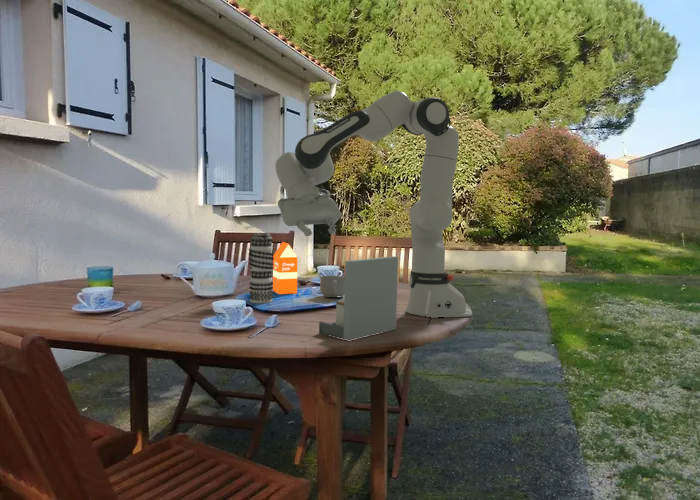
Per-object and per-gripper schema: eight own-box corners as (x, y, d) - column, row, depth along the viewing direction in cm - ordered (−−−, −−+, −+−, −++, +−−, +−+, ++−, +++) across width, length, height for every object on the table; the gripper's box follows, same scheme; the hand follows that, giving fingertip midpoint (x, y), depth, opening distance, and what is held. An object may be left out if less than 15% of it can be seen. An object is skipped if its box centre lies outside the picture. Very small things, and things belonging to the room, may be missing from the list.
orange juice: (278, 294, 222) (279, 243, 220) (272, 290, 230) (273, 241, 228) (297, 293, 225) (298, 243, 223) (290, 289, 233) (291, 241, 231)
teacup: (322, 293, 225) (323, 274, 224) (349, 295, 223) (350, 275, 222) (315, 300, 211) (316, 279, 210) (344, 301, 210) (344, 280, 209)
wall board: (366, 323, 176) (368, 253, 174) (395, 330, 167) (398, 257, 165) (319, 333, 162) (320, 257, 159) (348, 341, 153) (350, 261, 151)
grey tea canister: (349, 329, 165) (349, 299, 164) (362, 332, 161) (363, 302, 160) (335, 332, 161) (336, 301, 160) (349, 336, 157) (350, 304, 156)
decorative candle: (244, 299, 209) (245, 232, 206) (268, 298, 213) (268, 232, 211) (253, 304, 201) (253, 234, 198) (277, 302, 205) (278, 234, 203)
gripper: (280, 192, 167) (298, 230, 162) (333, 191, 180) (351, 225, 175) (271, 205, 171) (288, 242, 166) (323, 203, 184) (341, 237, 179)
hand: (321, 233), depth 171 cm, fingers open, 8 cm apart
